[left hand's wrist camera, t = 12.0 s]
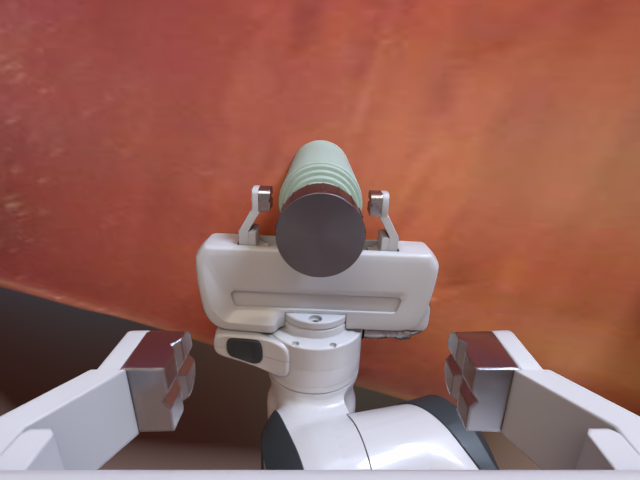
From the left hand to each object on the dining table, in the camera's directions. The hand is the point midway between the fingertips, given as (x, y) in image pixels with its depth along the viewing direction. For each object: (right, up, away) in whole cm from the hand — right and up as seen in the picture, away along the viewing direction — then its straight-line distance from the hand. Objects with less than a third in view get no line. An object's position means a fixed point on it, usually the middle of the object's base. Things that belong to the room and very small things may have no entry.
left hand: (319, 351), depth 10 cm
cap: (0, +3, +9) cm, 9 cm away
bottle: (0, +10, +26) cm, 27 cm away
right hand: (0, +7, +21) cm, 22 cm away
